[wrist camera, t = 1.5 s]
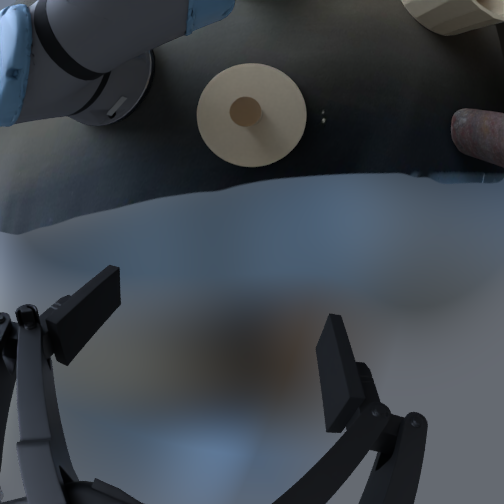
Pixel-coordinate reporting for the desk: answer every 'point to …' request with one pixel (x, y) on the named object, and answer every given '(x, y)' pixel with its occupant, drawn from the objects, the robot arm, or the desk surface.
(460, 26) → the beige cup
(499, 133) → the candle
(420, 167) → the desk surface
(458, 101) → the desk surface
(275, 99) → the jug lid
